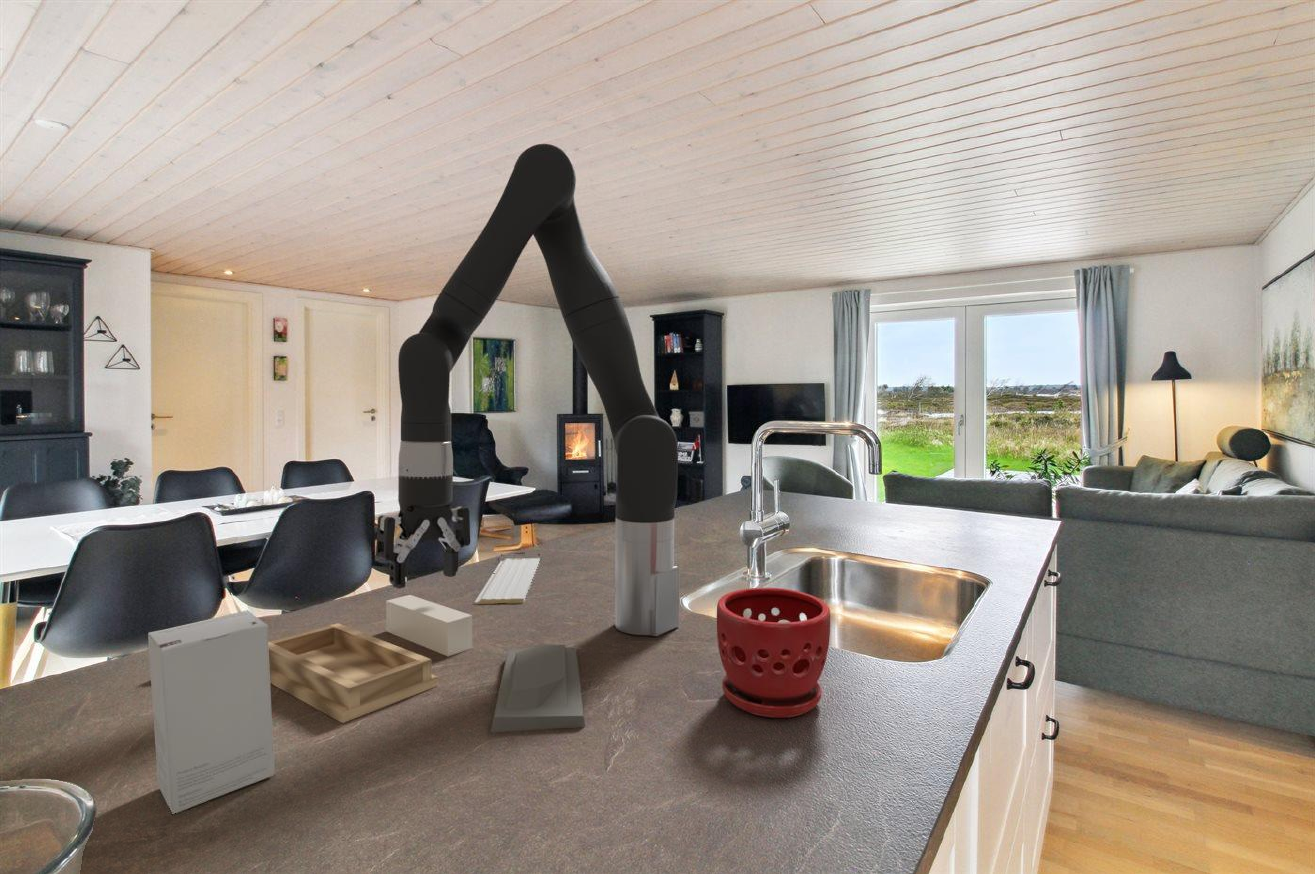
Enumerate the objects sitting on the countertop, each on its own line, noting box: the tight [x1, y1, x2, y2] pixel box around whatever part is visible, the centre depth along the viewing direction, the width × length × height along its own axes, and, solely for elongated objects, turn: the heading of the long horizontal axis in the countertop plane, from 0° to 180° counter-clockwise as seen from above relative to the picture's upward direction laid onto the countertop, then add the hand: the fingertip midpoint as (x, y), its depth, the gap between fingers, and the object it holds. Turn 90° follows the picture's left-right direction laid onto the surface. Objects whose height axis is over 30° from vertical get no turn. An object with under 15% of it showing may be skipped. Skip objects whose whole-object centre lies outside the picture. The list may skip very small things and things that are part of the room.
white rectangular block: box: [385, 594, 473, 657], centre depth 98 cm, size 16×4×5 cm, turn 52°
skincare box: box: [147, 609, 275, 815], centre depth 60 cm, size 8×6×15 cm
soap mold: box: [490, 643, 586, 733], centre depth 81 cm, size 10×20×4 cm, turn 8°
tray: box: [268, 622, 438, 724], centre depth 83 cm, size 22×12×4 cm, turn 54°
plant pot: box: [716, 587, 831, 719], centre depth 78 cm, size 13×13×12 cm
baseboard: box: [473, 551, 541, 605], centre depth 130 cm, size 30×3×10 cm
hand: (425, 581), depth 97 cm, fingers open, 8 cm apart
